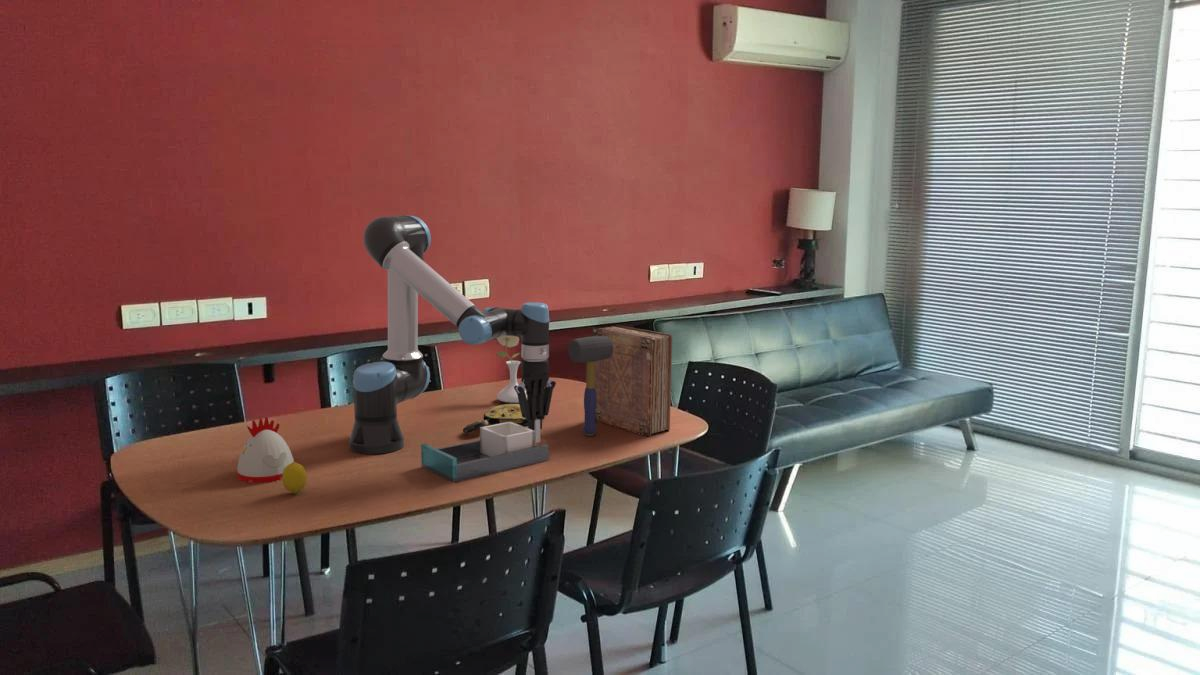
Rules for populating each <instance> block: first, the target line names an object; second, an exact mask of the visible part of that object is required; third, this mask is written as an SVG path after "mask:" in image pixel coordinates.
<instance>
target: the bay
mask: <svg viewBox="0 0 1200 675" xmlns="http://www.w3.org/2000/svg"><path fill="white" fill-rule="evenodd" d="M420 446H421V447H420V449H421V450H420V453H421V454H420V455H421V457H420V458H421V460H420V461H421V468H423V469H425V470H427V471H429V472H430V473H433V474H434V475H437V476H439V477H441V478H443V479H445V480H447V481H449V482H450V483H453V482H454V483H458V482H462V481H466V480H471V479H475V478H478V477H484V476H487V474H488V475H491V473H492V474H496V473H499V471H500V472H504V470H505V471H508V470H513V469H517V468H520V467H521V468H522V467H525V465H526V466H529V465H533V464H538V463H542V462H545V461H549V444H545V443H544V444H541V445H537V446H536V445H535V447H531V448H527V449H522V450H518V451H513V452H509V453H504V454H500V455H495V456H491V457H490V456H488V455H486V454H483V453H481V452H480V439H477V440H471V441H470V440H469V441H466V442H461V443H456V444H452V445H447V446H446V445H445V446H442V447H437V448H435V447H434V446H433V445H429V444H427V443H422V444H420ZM457 481H458V482H457Z"/></svg>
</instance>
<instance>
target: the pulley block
mask: <svg viewBox="0 0 1200 675" xmlns="http://www.w3.org/2000/svg"><path fill="white" fill-rule="evenodd" d="M544 417H545V418H546V415H545V416H544ZM505 422H513V423H515V424H518V425H521V426H523V427H525V426H527V427H528V419H526V418H523V417H522V414H521V409H520V405H519V403H515V402H512V403H505V404H500V405H496V406H493V407H492V408H491V409H489V410H488V411H485V412H484V414H483V420H478V421H475V422H472V423H470V424H467V425H466V426H464V427H463V428H462V433H464V434H469V433H473V432H476V431H480V427H485V426H490V425H495V424H500V423H505Z"/></svg>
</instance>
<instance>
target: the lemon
mask: <svg viewBox="0 0 1200 675" xmlns="http://www.w3.org/2000/svg"><path fill="white" fill-rule="evenodd" d="M307 477H308V476H307V472H306V469H305V467H304V466H303V465H302V464H300V463H298V462H296V461H294V462H292V463H291V464H289V465H288V466H286V468H285V469H284V471H283V476H282V480H281V481H282V485H283V487H284V488H285V489H286V490H287V491H288V492H290V493H293V495H294V494H296V495H297V494H298V493H299V491H302V490H304V488H305V486H306V484H307Z"/></svg>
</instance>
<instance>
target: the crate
mask: <svg viewBox="0 0 1200 675" xmlns="http://www.w3.org/2000/svg"><path fill="white" fill-rule="evenodd" d="M479 440H480V452H481V453H483V454H486V455H488V456H490V457H491V456H495V455H500V454H504V453H509V452H513V451H518V450H522V449H527V448H531V447H536V443H535V431H534V430H531V429H529V428H528V427H523V426H521V425H518V424H515V423H513V422H505V423H500V424H495V425H490V426H485V427H480V430H479Z"/></svg>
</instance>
